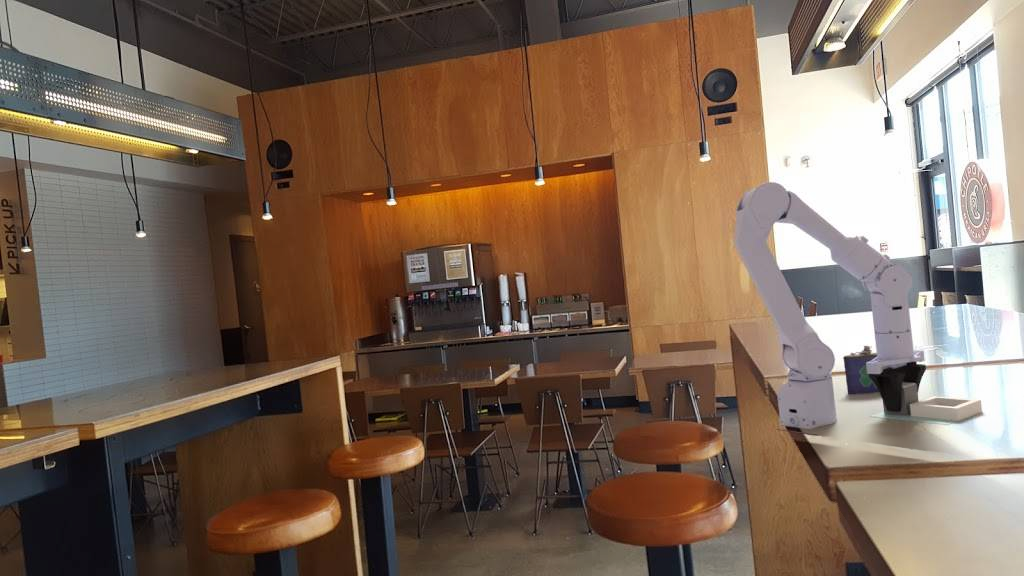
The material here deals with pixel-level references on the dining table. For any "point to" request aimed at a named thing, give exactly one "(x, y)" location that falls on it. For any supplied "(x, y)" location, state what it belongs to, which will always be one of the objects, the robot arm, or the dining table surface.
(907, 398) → the grey block
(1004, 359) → the dining table surface
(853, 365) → the flask
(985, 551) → the dining table surface
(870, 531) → the dining table surface
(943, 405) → the socket
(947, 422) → the translucent flat sheet
